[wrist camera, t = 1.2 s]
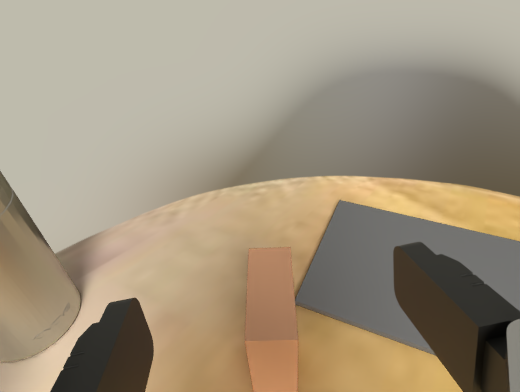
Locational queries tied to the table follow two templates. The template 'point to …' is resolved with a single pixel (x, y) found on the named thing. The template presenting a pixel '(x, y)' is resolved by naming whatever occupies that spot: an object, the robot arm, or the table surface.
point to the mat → (382, 272)
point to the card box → (271, 321)
